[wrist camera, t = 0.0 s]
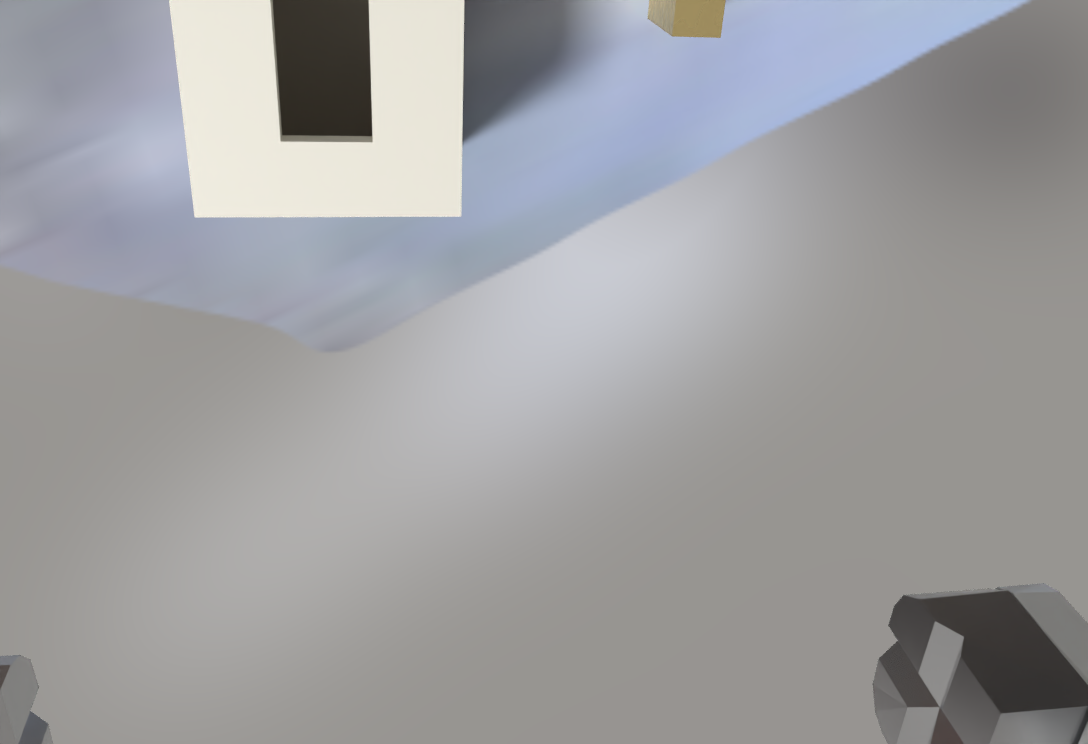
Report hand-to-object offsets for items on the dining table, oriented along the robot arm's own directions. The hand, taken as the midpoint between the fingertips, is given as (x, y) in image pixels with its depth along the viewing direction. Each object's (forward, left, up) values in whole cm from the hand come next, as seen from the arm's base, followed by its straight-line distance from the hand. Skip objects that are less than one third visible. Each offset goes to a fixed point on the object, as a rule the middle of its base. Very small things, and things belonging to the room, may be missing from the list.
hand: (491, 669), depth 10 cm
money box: (+2, -3, -48) cm, 48 cm away
